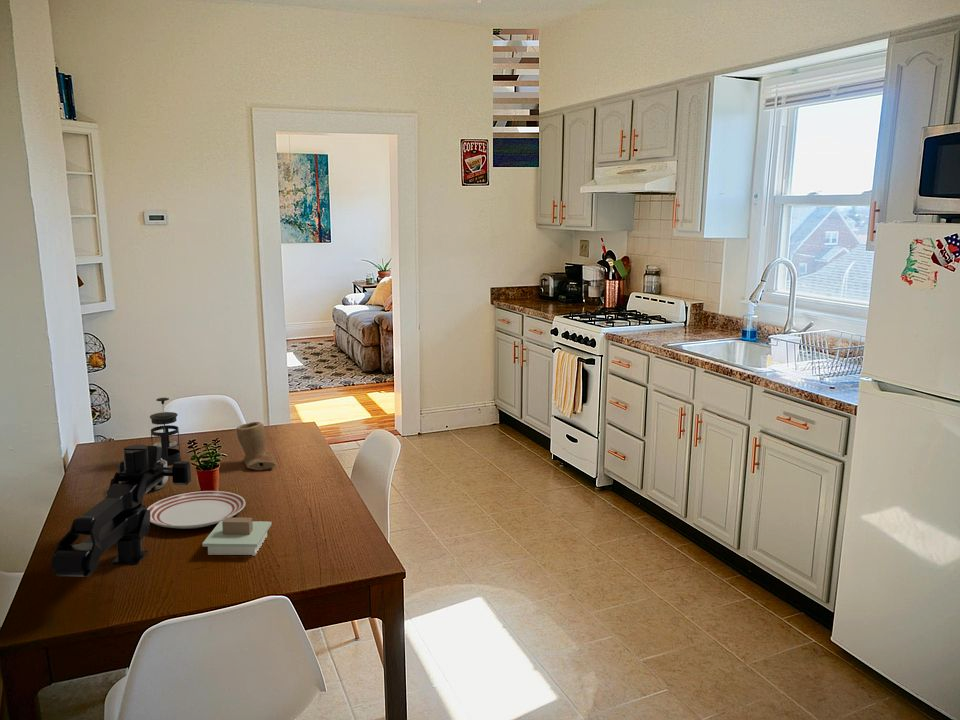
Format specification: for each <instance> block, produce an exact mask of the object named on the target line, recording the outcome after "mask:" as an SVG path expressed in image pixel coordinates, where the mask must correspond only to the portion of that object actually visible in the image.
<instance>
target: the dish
mask: <svg viewBox="0 0 960 720" xmlns="http://www.w3.org/2000/svg"><path fill="white" fill-rule="evenodd" d="M267 537H268V531H267V532H266V534H265V535H264V537H263V539H262V540H261V542H260V543H259V545H258V547H207V555H252V556H251V557H255V556H256V555H257V553H258V552H259V550H260V549H259V548H261V547H262V545H263V544H262V543H264V542H265V541H264V540H266V539H267ZM265 538H266V539H265ZM257 551H258V552H257Z"/></svg>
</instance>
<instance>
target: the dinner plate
mask: <svg viewBox="0 0 960 720" xmlns="http://www.w3.org/2000/svg"><path fill="white" fill-rule="evenodd" d="M245 507H246V500H245V499H244V497H243V496H241V495H239V494H236V493H233V492H230V491H222V490H202V491H201V490H200V491H192V492H186V493H180V494H176V495H172V496H168V497H166V498H163V499H159V500H158V501H156V502H153V504H151V505H150V506H148V507H146V508H147V510H149V511H150V524H154V525H156V526H159V527H164V528H170V529H177V530H178V529H180V530H188V529H189V530H190V529H191V530H192V529H200V528H204V527H209V526H213V525H215V524H216V525H217V524H218V523H219V522H220V521H223V520H224V519H225V518H226V517H234V516H235V515H238V514H239V513H240V512H241V511H242V510H243V509H244V508H245Z"/></svg>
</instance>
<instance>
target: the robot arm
mask: <svg viewBox="0 0 960 720" xmlns="http://www.w3.org/2000/svg"><path fill="white" fill-rule="evenodd" d="M122 451H123V452H122V453H123V460H121V461H120V462H119V464H118V472H115V473H114V476H113V478H111V479H110V482H109V487H108V489H107V490H106V491H105V493H106V495H105V496H106V497H104V498H103V499H102V500H100V501H99V502H98V503H97V504H95V505H94V506H93V507H92V508H90V509H89V510H87V511H86V512H85V513H84V514H82V515H81V516H78V517H75V518H74V520H73V521H72V523H71V525H70V530H69V531H68V532H67V533H66V534H64V535H63V537H62V538H61V539H60V540H59V541H58V543H57V545H56V548H55V551H54V553H53V556H52V559H51V564H50V565H51V566H50V567H51V570H52V571H54V573H55V575H56V577H80V578H81V577H87V578H88V577H90V576H91V575H93V573H94V572H95V571H96V569H97V568H98V567H99V565H100V562H99V560H100V557H101V556H103V554H104V553H106V552H107V551H108V550H110V548H111V547H112V546H114V545H115V544H116V549H117V552H116V553H117V556H115V558H114V559H113V560H112V561H111V562H112V564H116V565H117V564H121V565H125V564H126V565H127V564H128V565H129V564H130V565H133V564H134V565H137V564H139V563H140V562H141V561H142V560H143V559H144V558H145V557H146V556H147V555H148V554H149V550H143V541H142V540H143V539H144V538H145V537H146V535H148V534H149V533H150V525H151V522H150V511H149V510H147V508H148V507H147V505H145V504H144V505H143V499H144V496H145V495H146V494H147V493H149V492H153V491H154V492H155V491H157V490H156V485H162V484H163V481H162V479H163V478H164V476H168V477H172V484H173V485H174V486H187V485H188V484H190V483H191V482H192V473H191V471H192V470H191V463H190V462H189V461H186V460H181V461H176V462H174V463H173V465H171V466H167V467H163V463H161V454H162V448H161V447H160V446H152V445H145V444H132V445H128V446H125V447H123V450H122ZM163 470H164V471H163ZM166 470H167V471H166ZM80 536H89V537H88V538H86V539H85V540H83V542H81V543H78V544H73V543H74V542H75V541H77V539H79V537H80Z"/></svg>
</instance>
